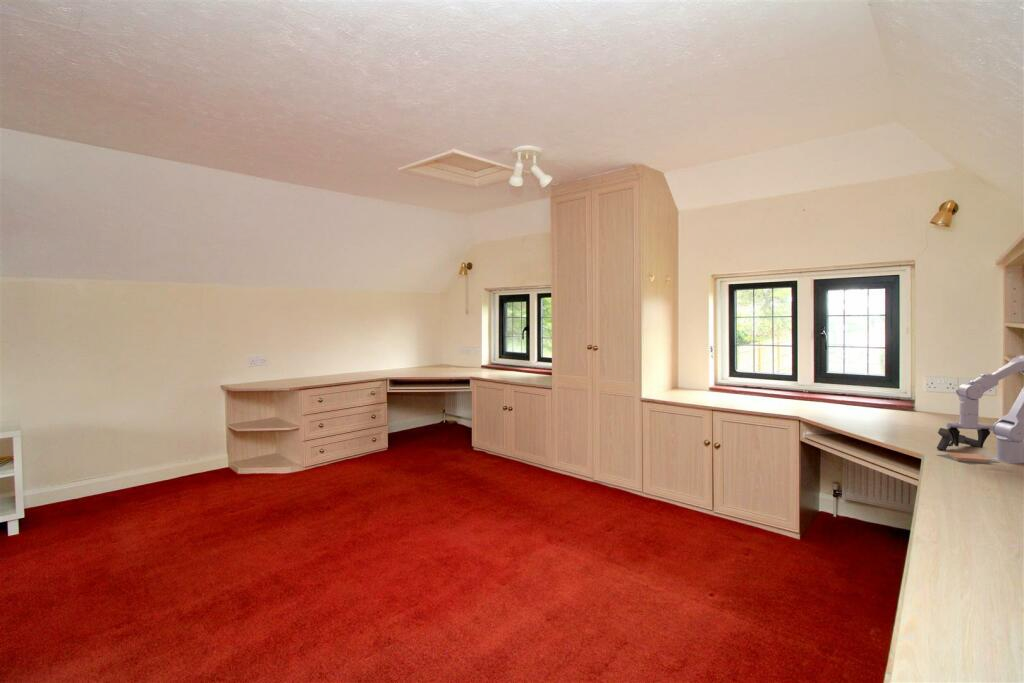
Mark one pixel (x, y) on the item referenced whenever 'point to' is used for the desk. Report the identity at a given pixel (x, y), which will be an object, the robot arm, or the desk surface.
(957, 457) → the tile
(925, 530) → the desk surface
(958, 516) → the desk surface
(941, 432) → the handgun
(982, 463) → the mat
